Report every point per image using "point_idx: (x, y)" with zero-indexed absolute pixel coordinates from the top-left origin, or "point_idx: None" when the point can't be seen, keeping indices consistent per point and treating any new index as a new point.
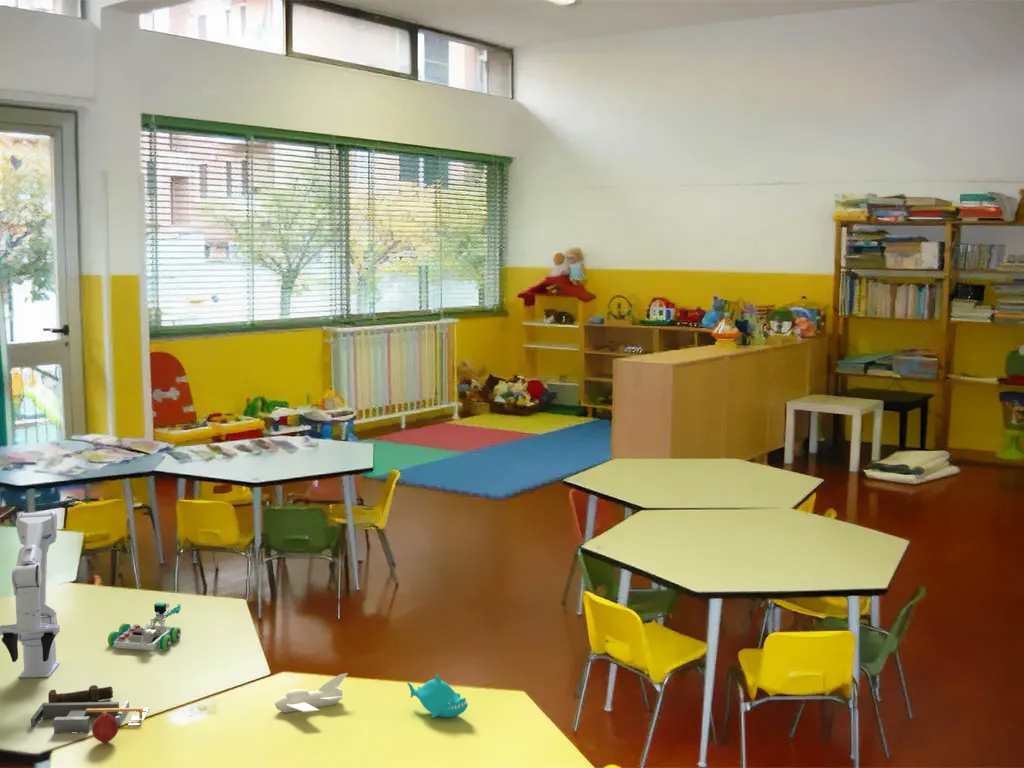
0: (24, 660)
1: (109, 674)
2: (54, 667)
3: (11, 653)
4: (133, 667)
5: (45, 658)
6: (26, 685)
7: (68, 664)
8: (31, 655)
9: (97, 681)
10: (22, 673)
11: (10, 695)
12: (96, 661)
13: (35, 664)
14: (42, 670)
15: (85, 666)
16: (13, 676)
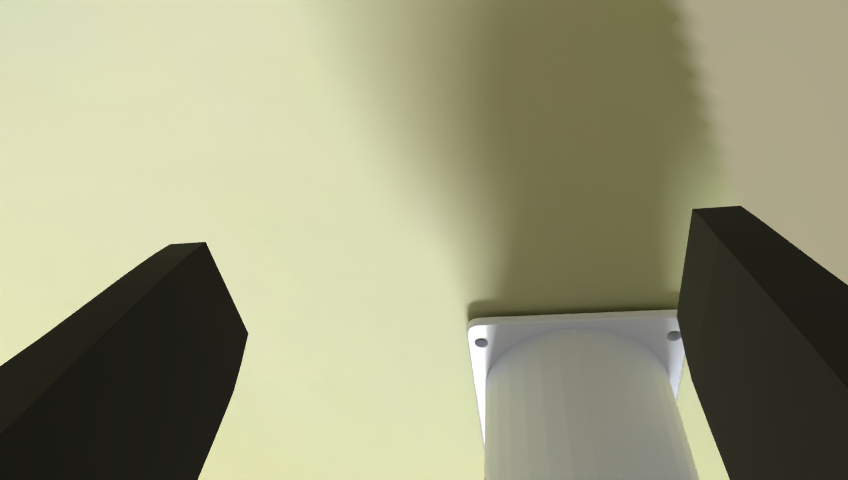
0: (675, 436)
1: None
2: (483, 412)
3: (841, 313)
4: None
5: (128, 272)
6: (582, 208)
7: (433, 445)
8: (611, 469)
9: (115, 277)
10: (669, 349)
11: (663, 17)
12: (302, 466)
13: (569, 397)
14: (520, 364)
15: (324, 427)
16: None
